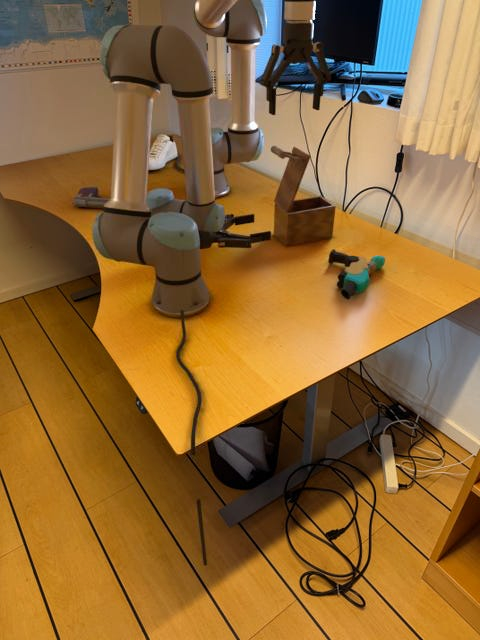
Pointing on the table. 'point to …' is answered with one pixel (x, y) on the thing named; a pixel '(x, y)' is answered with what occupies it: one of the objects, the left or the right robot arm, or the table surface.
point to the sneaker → (162, 151)
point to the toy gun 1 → (89, 198)
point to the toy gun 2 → (354, 272)
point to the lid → (290, 176)
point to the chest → (304, 221)
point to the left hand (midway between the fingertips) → (262, 226)
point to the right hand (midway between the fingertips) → (294, 111)
